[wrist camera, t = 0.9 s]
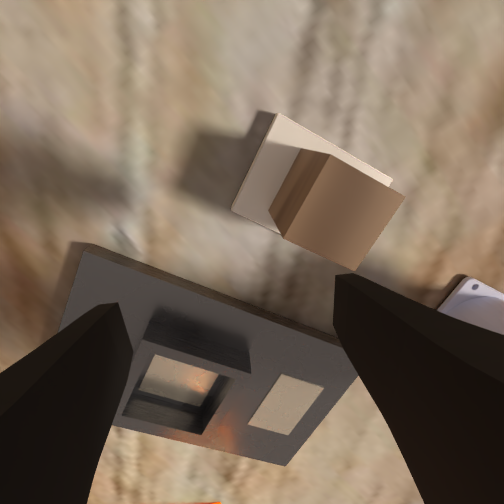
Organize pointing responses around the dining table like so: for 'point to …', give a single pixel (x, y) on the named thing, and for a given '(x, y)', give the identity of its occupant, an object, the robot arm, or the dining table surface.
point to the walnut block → (332, 208)
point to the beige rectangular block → (284, 168)
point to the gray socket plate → (212, 362)
